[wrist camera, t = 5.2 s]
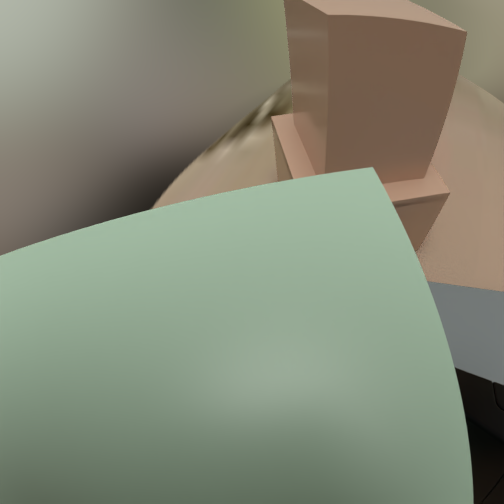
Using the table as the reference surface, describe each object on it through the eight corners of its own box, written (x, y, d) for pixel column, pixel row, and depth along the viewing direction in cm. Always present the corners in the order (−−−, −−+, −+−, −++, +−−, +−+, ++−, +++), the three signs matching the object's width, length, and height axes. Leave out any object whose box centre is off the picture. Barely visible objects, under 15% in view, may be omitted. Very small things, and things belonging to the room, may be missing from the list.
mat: (542, 475, 6) (546, 475, 6) (383, 506, 9) (386, 508, 9) (552, 301, 12) (556, 299, 11) (417, 284, 15) (420, 280, 14)
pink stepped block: (417, 250, 16) (505, 50, 5) (303, 275, 16) (301, 25, 5) (374, 166, 19) (398, -8, 8) (278, 181, 19) (253, -11, 9)
